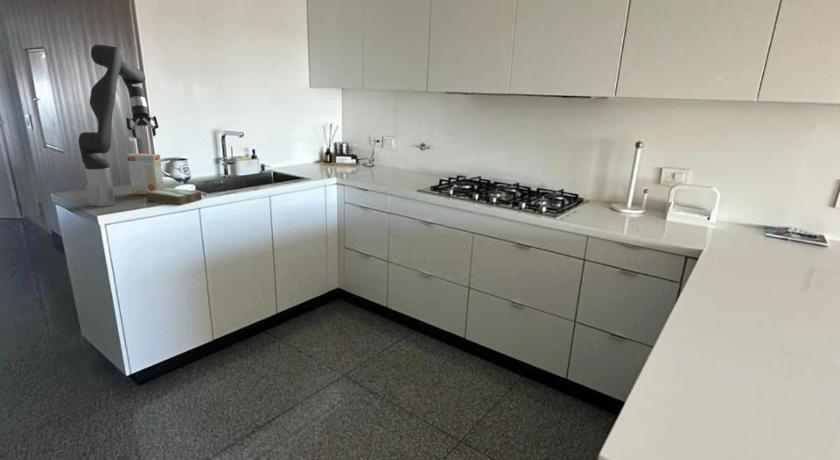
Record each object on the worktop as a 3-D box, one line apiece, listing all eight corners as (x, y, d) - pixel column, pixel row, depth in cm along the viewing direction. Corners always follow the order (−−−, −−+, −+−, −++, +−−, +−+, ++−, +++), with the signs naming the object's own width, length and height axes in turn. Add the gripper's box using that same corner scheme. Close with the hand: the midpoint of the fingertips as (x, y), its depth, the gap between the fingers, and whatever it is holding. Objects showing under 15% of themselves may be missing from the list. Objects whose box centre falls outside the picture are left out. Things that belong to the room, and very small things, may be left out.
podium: (179, 205, 219) (178, 196, 218) (147, 200, 224) (146, 192, 223) (201, 199, 232) (200, 191, 230) (170, 195, 237) (169, 187, 236)
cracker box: (165, 194, 239) (160, 154, 233) (157, 196, 233) (152, 155, 227) (140, 192, 240) (134, 152, 234) (132, 194, 234) (126, 154, 228)
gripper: (122, 105, 235) (128, 135, 235) (153, 103, 241) (159, 133, 241) (125, 110, 242) (130, 140, 242) (155, 108, 248) (161, 137, 248)
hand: (145, 136), depth 241 cm, fingers open, 8 cm apart
